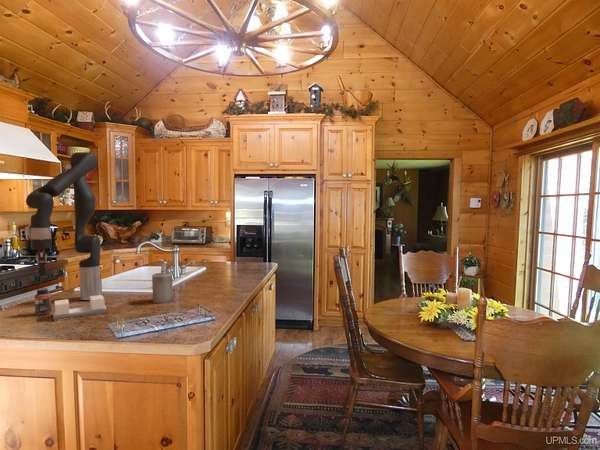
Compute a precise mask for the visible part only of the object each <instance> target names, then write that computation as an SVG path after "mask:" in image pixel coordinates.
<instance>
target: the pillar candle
mask: <svg viewBox="0 0 600 450" xmlns="http://www.w3.org/2000/svg"><path fill="white" fill-rule="evenodd" d="M151 284H152V302H153V303H155V304H162V303H163V304H166V303H170V302H172V301H173V299H174V293H173V292H174V291H173V290H174V289H173V273H172V272H164V271H162V272H157V273H153V274H152V275H151Z"/></svg>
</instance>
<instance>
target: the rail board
mask: <svg viewBox="0 0 600 450" xmlns="http://www.w3.org/2000/svg"><path fill="white" fill-rule="evenodd" d="M69 302H70V301H69V299H68V298H67V299H60V300H54V311H53V310H52V317H53V318H52V320H58V319H64V318H71V317H77V316H85V315H92V316H94V315H93V314H99V315H102V314H101V313H105V314H108V309H107V307H106V305H105V297H104V296H103V294H102V295H97V296H90V301H89V306H80V307H76V308H75V307H74V308H70V303H69Z"/></svg>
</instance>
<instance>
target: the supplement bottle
mask: <svg viewBox="0 0 600 450" xmlns="http://www.w3.org/2000/svg"><path fill="white" fill-rule="evenodd" d="M34 310H35V316H45V315H44V314H46V315H49V314H48V313H50V314H51V313H53V310H52V294H51V293H50V292H49V288H47V287H41V288H37V289H36V293H35V295H34Z"/></svg>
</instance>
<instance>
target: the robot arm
mask: <svg viewBox="0 0 600 450" xmlns="http://www.w3.org/2000/svg"><path fill="white" fill-rule="evenodd" d="M69 163H70V168H69V169H66V170H65V171H62V172H61V173H59V174H57V175H55V176H54V177H52V178H51V179H50V180H49V181H48V182H46V183H45V184H44V185H42V186H40V187H39V188H37V189H34V190H33V191H32V192H30V193H29V194H28V195H27V197H26V198H25V204H26V205H27V207H29V208H30V209H35V210H36V213H35V214H33V215H31V216H30V235H29V236H30V249H31V250H37V252H35V258H36V263H37V267H38V276H40V277H42V276H44V277H45V276H46V265H47V264H46V263H47V262H48V261H47V257H48V252H47V251H46V249H51V248H52V247H53V246H52V229H51V217H52V212H53V211H54V206H55V205H54V204H55V203H54V199H53V198H56V197H59V196H60V195H61V194H63V192H65V191H66V190H67V189H68V188H69V187H70V186H71V185H73V206H74V207H73V209H74V223H75V224H74V226H75V228H74V249H75V252H76V253H78V254H90V255H89V256H88V257H87V258H84V259H82V260H80V261H79V262H78V272H79V273H78V274H79V276H78V277H79V300H80V299H81V300H90V296H97V295H102V296H103V285H102V284H103V283H102V279H101V269H100V268H101V263H100V261H101V239H100V236H99V235H97V234H94V235H93V234H85V231H86V230H85V229H86V226H87V224H88V223H89V221H90V219H92V216H93V215H94V214H95V211H96V196H95V193H94V192H93V190H92V188H91V186H90V185H89V183H88V181H87V174H89V173H91V172H92V171H94V170H95V169H96V168H97V167H98V165H99V157H98V156H97V155H96V154H95V153H93V152H88V151H85V152H83V151H82V152H78V151H77V152H73V153H72V155H71V156H70V162H69ZM81 300H80V301H81Z"/></svg>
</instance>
